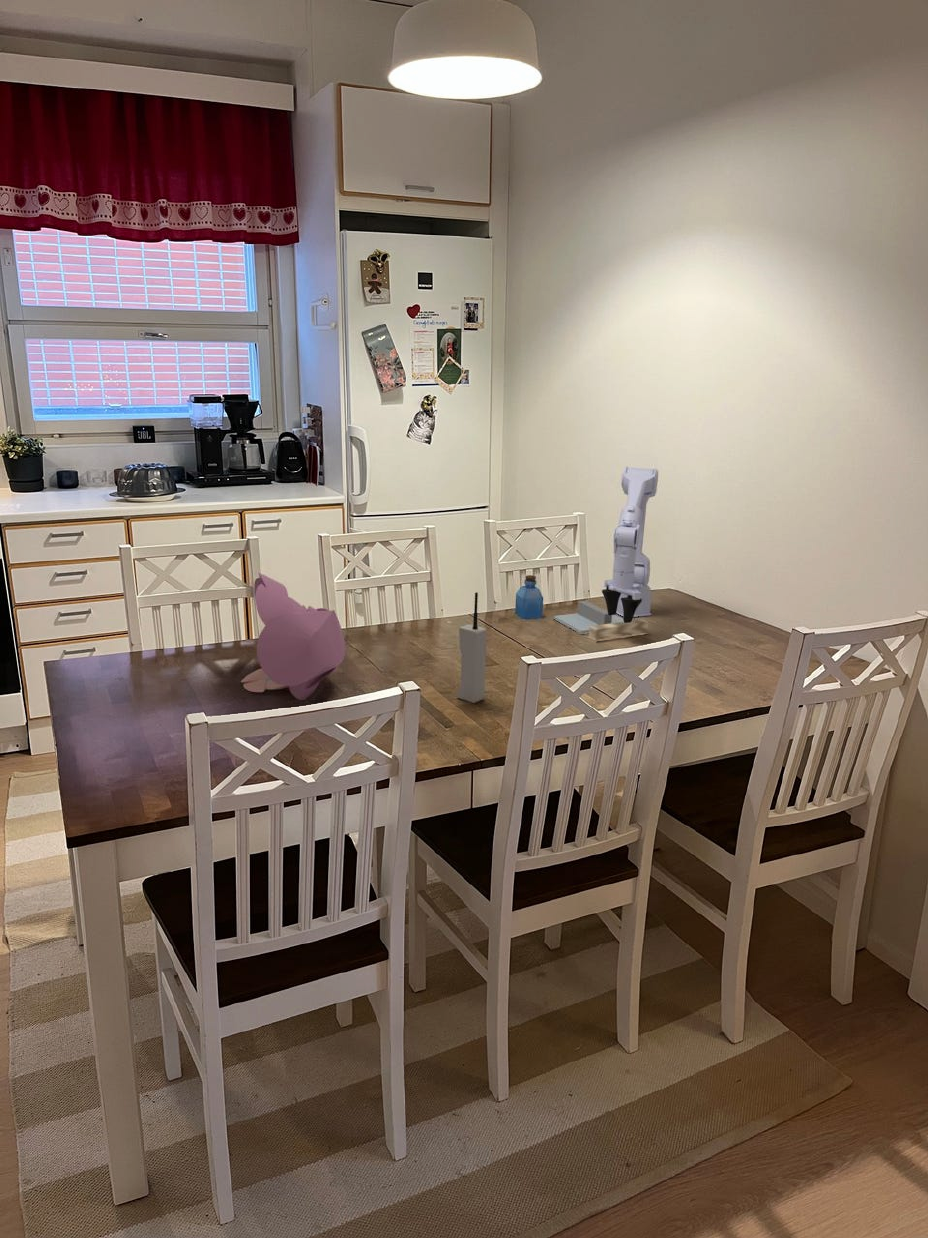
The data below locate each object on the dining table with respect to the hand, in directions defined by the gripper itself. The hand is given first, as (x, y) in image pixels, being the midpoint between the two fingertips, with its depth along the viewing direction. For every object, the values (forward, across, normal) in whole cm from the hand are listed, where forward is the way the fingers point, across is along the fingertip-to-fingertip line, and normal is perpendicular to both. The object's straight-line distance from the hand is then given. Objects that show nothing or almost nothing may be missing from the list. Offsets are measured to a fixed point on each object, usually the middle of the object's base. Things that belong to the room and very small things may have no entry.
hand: (619, 618), depth 253 cm
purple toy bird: (+6, +3, -94) cm, 94 cm away
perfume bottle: (+6, -26, -14) cm, 30 cm away
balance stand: (+5, -13, 0) cm, 14 cm away
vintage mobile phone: (+6, +27, -58) cm, 64 cm away
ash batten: (+6, 0, 0) cm, 6 cm away
